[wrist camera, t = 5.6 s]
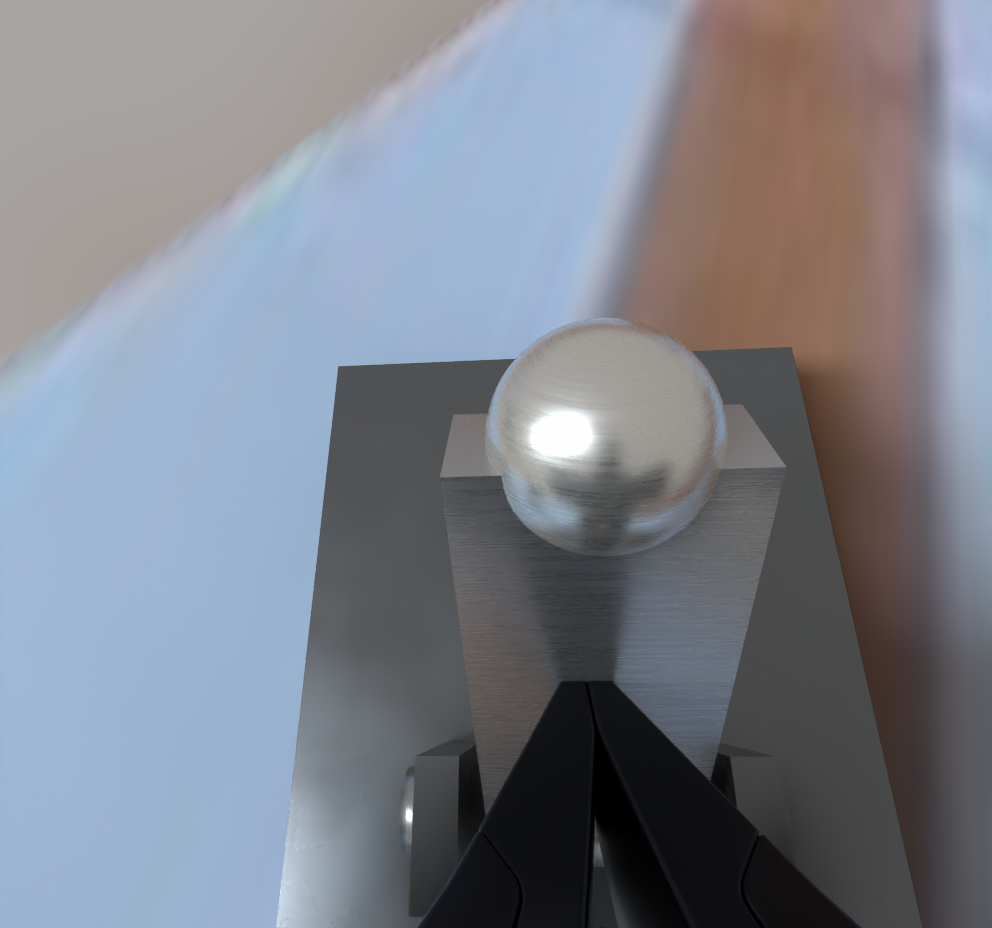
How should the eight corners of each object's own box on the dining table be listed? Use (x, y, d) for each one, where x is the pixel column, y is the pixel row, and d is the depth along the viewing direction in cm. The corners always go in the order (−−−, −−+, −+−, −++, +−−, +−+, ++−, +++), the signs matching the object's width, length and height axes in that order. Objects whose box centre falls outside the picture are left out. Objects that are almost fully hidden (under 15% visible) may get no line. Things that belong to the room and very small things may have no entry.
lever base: (965, 1470, 12) (1509, 2460, 5) (275, 1415, 12) (-13, 2194, 6) (757, 394, 20) (857, 254, 14) (364, 409, 21) (288, 284, 15)
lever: (695, 916, 11) (850, 370, 5) (492, 912, 12) (412, 387, 6) (664, 766, 14) (744, 280, 8) (497, 766, 14) (447, 294, 8)
